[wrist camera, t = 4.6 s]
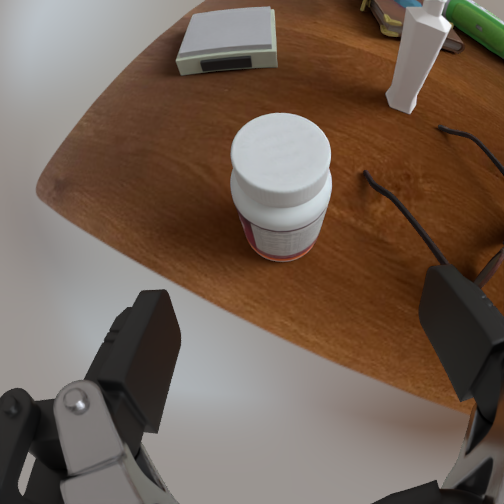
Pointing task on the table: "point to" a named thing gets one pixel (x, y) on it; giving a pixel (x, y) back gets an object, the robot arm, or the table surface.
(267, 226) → the pill bottle
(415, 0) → the book
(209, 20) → the scale
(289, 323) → the table surface
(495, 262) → the eyeglasses
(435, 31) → the perfume bottle
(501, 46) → the speaker
